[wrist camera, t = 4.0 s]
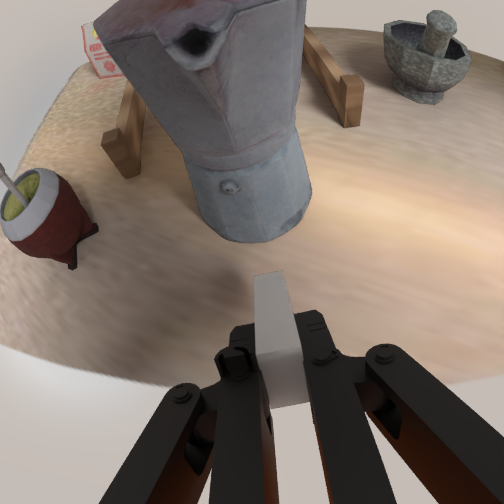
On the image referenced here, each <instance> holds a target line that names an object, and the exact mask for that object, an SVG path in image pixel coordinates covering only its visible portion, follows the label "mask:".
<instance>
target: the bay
mask: <svg viewBox="0 0 504 504" xmlns="http://www.w3.org/2000/svg"><path fill="white" fill-rule="evenodd" d="M302 54H303V56H304V57H305V59H306V60H307V62H308V63H309V65H310V67H311V68H312V70H313V71H314V73H315V75H316V76H317V78H318V79H319V81H320V83H321V84H322V86H323V88H324V89H325V91H326V93H327V95H328V96H329V98H330V100H331V101H332V103H333V105H334V107H335V108H336V110H337V112H338V118H339V119H340V121H341V123H342V125H343V127H344V128H348V127H355V126H360V119H361V111H362V103H363V93H364V83H363V81H362V80H361V79H360V77H359V76H358V75H357V74H353V75H345V74H344V73H343V71H342V70H341V68H340V67H339V66H338V64H337V63H336V62H335V60H334V59H333V58H332V57H331V55H330V54H329V53H328V51H327V50H326V49H325V48H324V46H323V45H322V44H321V43H320V41H319V40H318V39H317V38H316V36H315V35H314V34H313V33H312V32H311V31H310V29H309V28H308V27H307V26H306V25H305V26H304V40H303V53H302ZM145 107H146V104H145V102H144V101H143V100H142V99H141V97H140V96H139V95H138V93H137V92H136V90H135V89H134V88H133V86H132V85H131V83H130V82H129V80H127V84H126V88H125V91H124V95H123V99H122V103H121V107H120V112H119V116H118V120H117V125H116V129H113V130H111V131H108V132H105V133H104V134H103V138H102V142H101V146H102V147H103V149H104V150H105V152H106V153H107V154H108V156H109V157H110V159H111V160H112V161H113V163H114V164H115V166H116V167H117V168H118V170H119V171H120V172H121V174H122V175H123V177H124V178H125V179H126V178H129V177H133V176H136V175H139V174H140V165H141V162H140V160H139V157H140V147H141V138H142V130H143V122H144V114H145Z"/></svg>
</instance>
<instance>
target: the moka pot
mask: <svg viewBox="0 0 504 504" xmlns="http://www.w3.org/2000/svg"><path fill="white" fill-rule="evenodd" d="M305 13H306V0H119V1H118V2H116V3H115V4H114V5H113V6H111V7H110V8H109V9H108V10H107V11H105V12H104V13H103V14H102V15H101V16H100V17H99V18H97V19H96V20H95V21H94V23H93V27H94V30H95V31H96V33H97V35H98V37H99V39H100V41H101V43H102V45H103V46H104V48H105V50H106V51H107V52H108V54H109V55H110V56H111V58H112V59H113V60H114V62H115V63H116V64H117V66H118V67H119V68H120V70H121V71H122V72H123V74H124V75H125V76H126V78H127V79H128V80H129V82H130V83H131V85H132V86H133V88H134V89H135V90H136V92H137V93H138V95H139V96H140V97H141V99H142V100H143V101H144V102H145V104H146V105H147V106H148V108H149V109H150V110H151V112H152V113H153V115H154V116H155V117H156V119H157V120H158V121H159V123H160V124H161V125H162V127H163V128H164V130H165V131H166V132H167V133H168V135H169V136H170V137H171V139H172V140H173V142H174V143H175V145H176V146H177V147H178V148H179V149H180V150H181V152H182V153H183V156H184V161H185V165H186V168H187V171H188V173H189V177H190V181H191V184H192V186H193V189H194V192H195V196H196V200H197V202H198V205H199V208H200V212H201V215H202V217H203V219H204V220H205V221H206V222H207V223H208V224H209V226H210V227H211V228H213V229H214V230H215V231H216V232H217V233H218V234H220V235H221V236H222V237H224V238H225V239H228V240H230V241H235V242H241V243H259V242H267V241H270V240H273V239H275V238H277V237H279V236H281V235H283V234H285V233H286V232H288V231H289V230H290V229H292V228H293V227H294V226H296V225H297V224H298V223H299V222H300V220H301V219H302V217H303V215H304V213H305V211H306V209H307V207H308V204H309V201H310V199H311V195H312V188H311V183H310V179H309V175H308V171H307V167H306V163H305V159H304V155H303V151H302V148H301V144H300V140H299V136H298V132H297V129H296V127H295V106H296V102H297V98H298V93H299V88H300V78H301V65H302V53H303V40H304V26H305Z"/></svg>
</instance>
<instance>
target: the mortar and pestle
mask: <svg viewBox="0 0 504 504" xmlns="http://www.w3.org/2000/svg"><path fill="white" fill-rule="evenodd" d="M426 18H427V25H426V24H423V23H417V22H410V21H403V20H398V21H394V22H390V23H387V24H384V53H385V58H386V61H387V63H388V65H389V67H390V69H391V70H392V71H393V72H394V78H393V80H394V87H395V88H396V89H397V90H398V91H399V92H400V93H401V94H402V95H403V96H404V97H406V98H408V99H411V100H413V101H415V102H417V103H420V104H432V105H435V104H437V103H438V102H440V101H441V100H443V96H444V91H446V90H448V89H450V88H451V87H453V86H454V85H456V84H457V83H458V82H460V81H461V80H462V79H463V78H464V77H465V75H466V73H467V71H468V69H469V67H470V63H471V60H472V58H471V56H470V54H469V52H468V50H467V48H466V46H465V45H464V44H462V43H461V42H459V41H458V40H457V39H455V38H454V37H452V36H453V35H454V34H455V33H456V31H457V25H456V22H455V20H454V19H453V18H452V17H451V16H450V15H449V14H447V13H445V12H443V11H439V10H433V11H432V12H430V13H429V14H427V17H426Z"/></svg>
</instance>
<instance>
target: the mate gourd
mask: <svg viewBox="0 0 504 504" xmlns="http://www.w3.org/2000/svg"><path fill="white" fill-rule="evenodd" d="M0 179H1V180H2V181H3V183H4V184H5V185H6V186H7V187H8V190H7V192H6V193H5V195H4V197H3V200H2V202H1V205H0V222H1V227H2V230H3V233H4V235H5V236H6V237H7V238H8V239H9V241H10V242H11V243H12V244H13V245H15V246H16V247H17V248H18V249H19V250H21V251H22V252H23V253H25V254H27V255H29V256H32V257H37V258H52V259H54V260H56V261H59V262H62V263H66V264H68V269H71V270H74V269H76V268H77V250H76V244H77V243H78V242H79V241H81V240H83V239H85V238H87V237H89V236H91V235H93V234H95V233H97V232H98V230H99V228H98V225H97V224H96V223H94V224H92V223H91V221H90V219H89V217H88V215H87V213H86V211H85V209H84V208H83V207H82V205H81V204H80V201H79V199H78V198H77V196H76V194H75V192H74V191H73V189H72V187H71V186H70V184H69V183H68V182H67V181H66V180H65V179H64V178H62V177H61V176H59V175H58V174H56V173H55V172H54V171H51V170H48V169H43V168H34V169H30V170H27V171H26V172H24V173H23V174H21V175H20V176H19V177H18V178H17V179H16V180H15V181H14V182H12V181H11V179H10V178H9V177H8V175H7V174H6V173H5V169H4V167H3V166H2V164H1V163H0Z"/></svg>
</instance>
